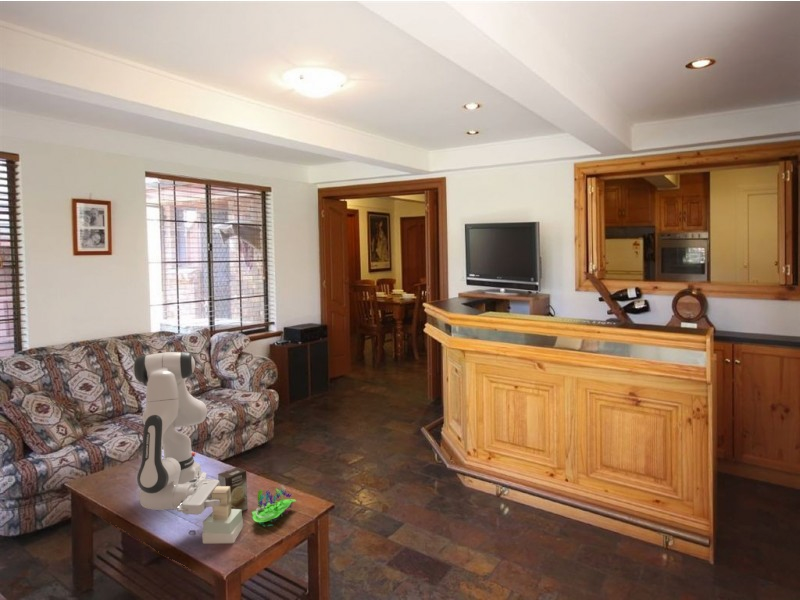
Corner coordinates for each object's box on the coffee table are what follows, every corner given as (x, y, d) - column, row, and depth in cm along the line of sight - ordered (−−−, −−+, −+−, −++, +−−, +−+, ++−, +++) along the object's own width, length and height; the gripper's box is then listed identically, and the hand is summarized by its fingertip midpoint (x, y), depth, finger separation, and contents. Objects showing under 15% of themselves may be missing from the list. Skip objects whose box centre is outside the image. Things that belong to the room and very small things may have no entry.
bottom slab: (214, 528, 202) (213, 518, 202) (243, 527, 202) (242, 517, 202) (202, 544, 191) (202, 533, 191) (233, 544, 191) (233, 533, 191)
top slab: (217, 518, 202) (216, 507, 202) (242, 519, 200) (241, 509, 200) (203, 532, 192) (202, 521, 192) (229, 534, 191) (229, 523, 190)
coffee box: (228, 518, 209) (226, 478, 207) (219, 513, 213) (217, 474, 211) (248, 508, 216) (246, 470, 214) (239, 504, 220) (237, 466, 218)
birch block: (217, 512, 198) (216, 486, 197) (231, 512, 198) (230, 486, 197) (213, 519, 193) (211, 492, 192) (227, 519, 193) (225, 492, 192)
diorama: (240, 523, 205) (238, 492, 203) (281, 502, 220) (280, 474, 219) (263, 534, 196) (262, 502, 195) (304, 512, 212) (303, 482, 211)
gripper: (173, 502, 184) (213, 501, 184) (196, 476, 205) (232, 475, 204) (174, 519, 185) (214, 519, 185) (197, 492, 205) (233, 491, 205)
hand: (224, 496), depth 195 cm, fingers open, 7 cm apart
